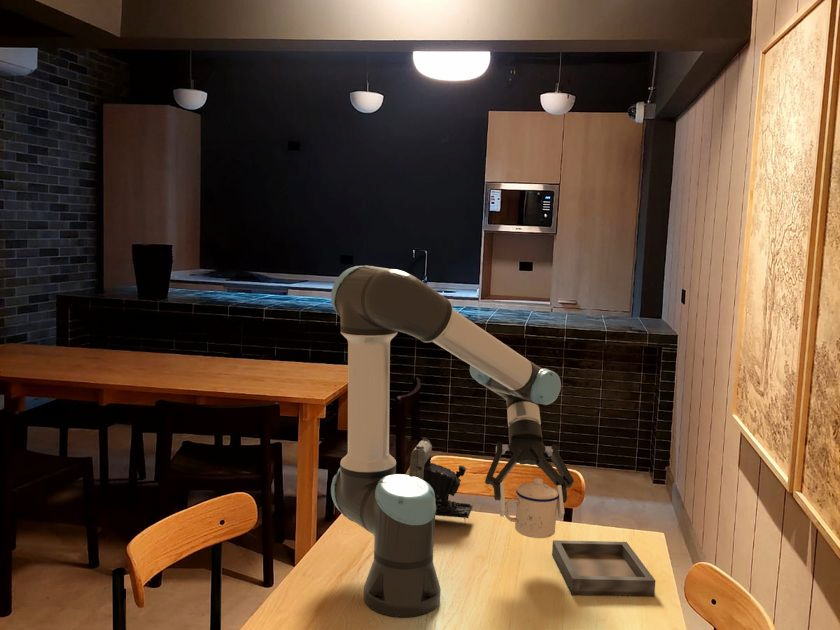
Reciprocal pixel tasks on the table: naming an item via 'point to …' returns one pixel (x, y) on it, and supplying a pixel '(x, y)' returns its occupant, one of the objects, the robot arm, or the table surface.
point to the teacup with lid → (534, 509)
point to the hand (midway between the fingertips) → (532, 515)
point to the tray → (602, 569)
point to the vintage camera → (438, 481)
